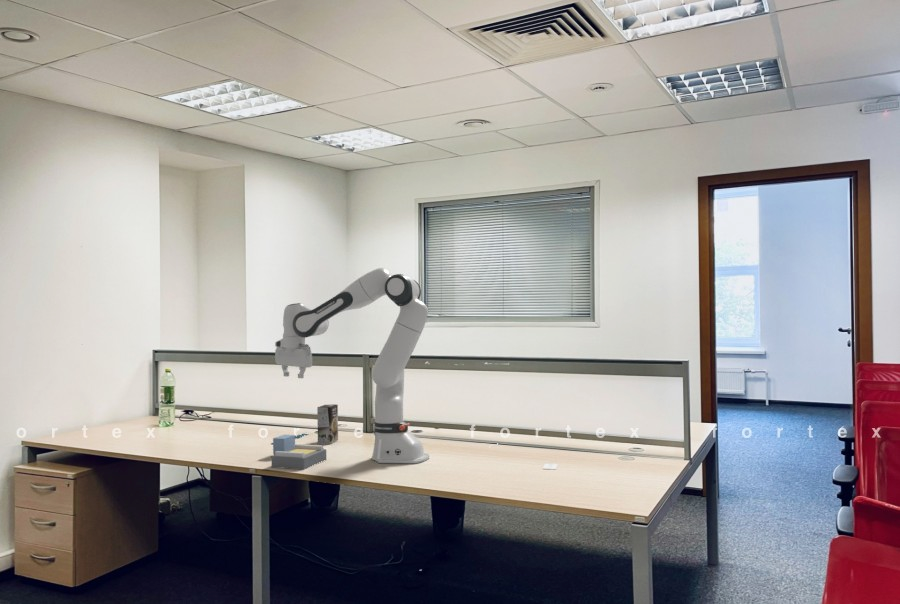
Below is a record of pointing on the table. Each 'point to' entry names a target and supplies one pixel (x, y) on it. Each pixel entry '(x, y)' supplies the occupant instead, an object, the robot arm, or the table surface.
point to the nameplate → (298, 436)
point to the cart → (283, 443)
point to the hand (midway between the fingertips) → (293, 377)
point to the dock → (299, 456)
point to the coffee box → (327, 424)
